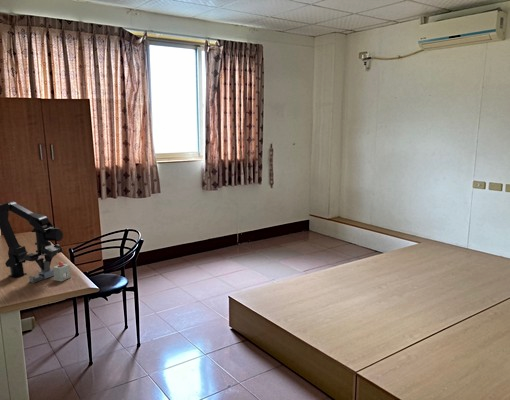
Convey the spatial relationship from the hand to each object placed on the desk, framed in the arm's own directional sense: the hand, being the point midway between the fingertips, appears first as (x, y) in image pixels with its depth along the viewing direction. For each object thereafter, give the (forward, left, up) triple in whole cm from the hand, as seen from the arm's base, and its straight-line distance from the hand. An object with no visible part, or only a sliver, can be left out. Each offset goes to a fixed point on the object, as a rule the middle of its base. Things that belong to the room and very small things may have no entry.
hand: (45, 269), depth 227 cm
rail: (0, -2, -4) cm, 5 cm away
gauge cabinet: (+11, +2, -4) cm, 11 cm away
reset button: (+11, +1, +1) cm, 11 cm away
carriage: (0, 0, -4) cm, 4 cm away
